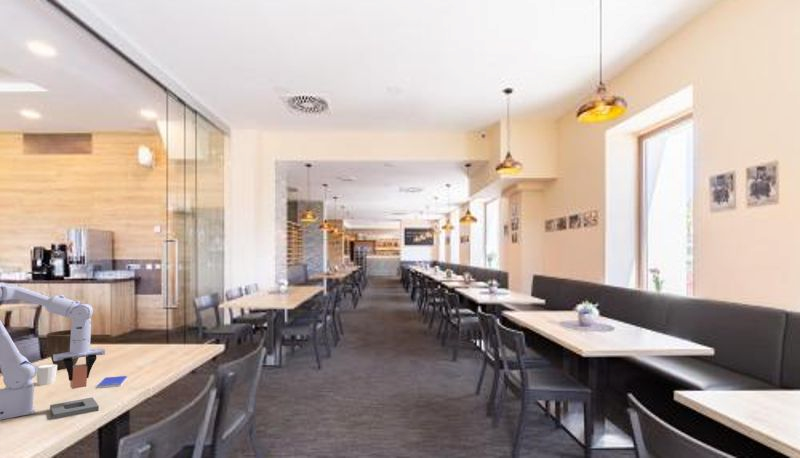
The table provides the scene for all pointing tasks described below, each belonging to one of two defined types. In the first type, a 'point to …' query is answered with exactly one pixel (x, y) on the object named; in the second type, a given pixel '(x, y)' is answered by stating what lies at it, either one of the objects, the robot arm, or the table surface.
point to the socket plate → (73, 408)
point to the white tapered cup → (46, 374)
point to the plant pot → (59, 346)
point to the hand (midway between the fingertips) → (78, 378)
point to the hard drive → (112, 382)
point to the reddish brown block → (79, 376)
